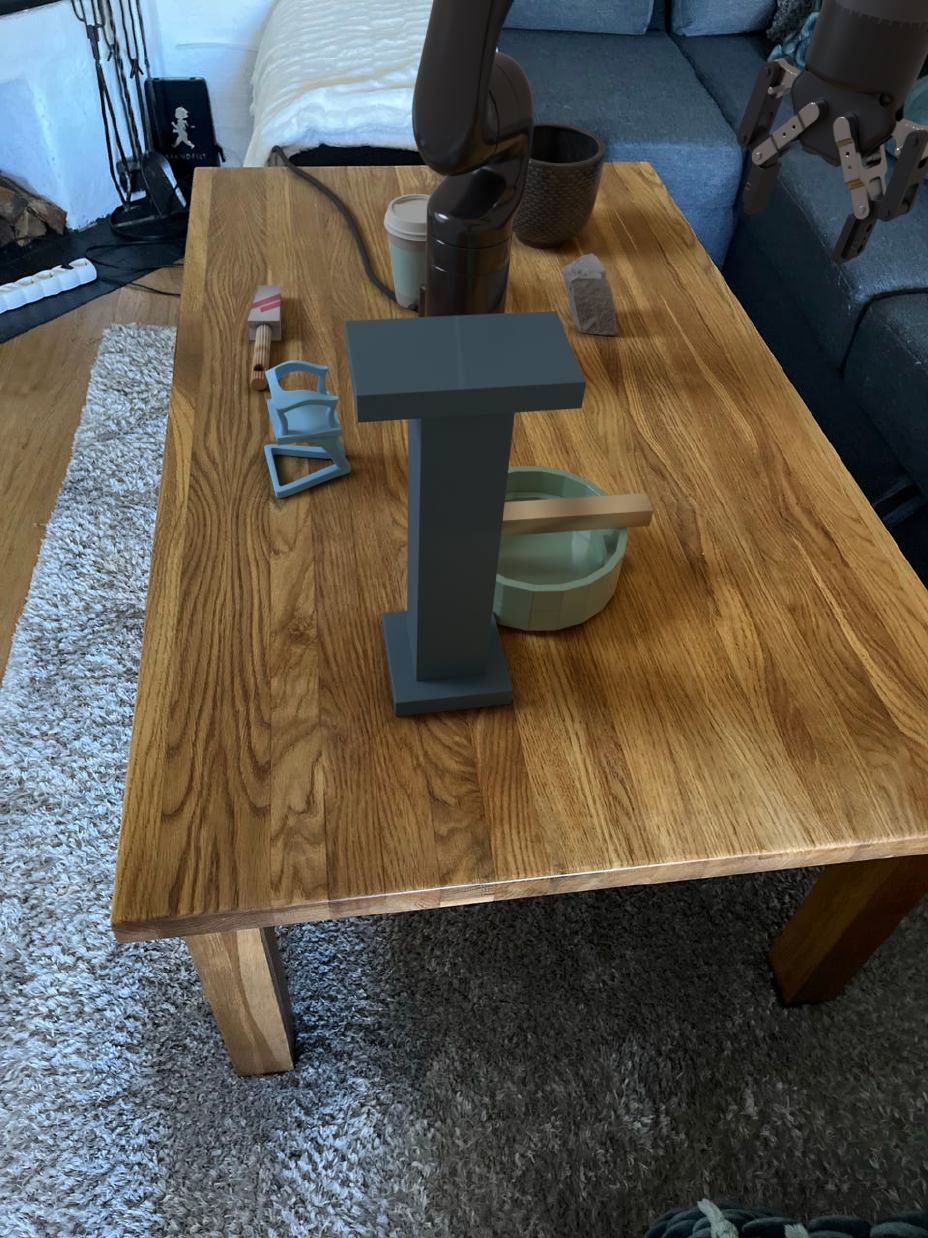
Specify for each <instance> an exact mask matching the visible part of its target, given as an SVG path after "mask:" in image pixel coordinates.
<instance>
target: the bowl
mask: <svg viewBox="0 0 928 1238" xmlns="http://www.w3.org/2000/svg"><path fill="white" fill-rule="evenodd" d="M594 496H610V494H608V493H607V492H605V491H604V490H603V489H602V488H600V487H599V486H598V485H596V484H595V483H594V482H592V481H591V480H589V479H586V478H584V477H582V476H580V475H577V474H575V473H573V472H570V471H568V470H564V469H560V468H559V469H558V468H553V467H549V466H545V465H513V466H509V469H508V478H507V487H506V496H505V502H516V501H532V500H547V499H563V498H579V497H594ZM628 540H629V530H628V528H615V529H600V530H586V531H571V532H557V533H542V534H528V535H513V536H501V541H500V549H499V558H498V567H497V576H496V585H495V594H494V603H493V612H494V616H495V620H496V624H497V625H499V626H505V627H508V628H513V629H518V630H522V631H526V632H527V631H528V632H529V631H530V632H532V631H533V632H537V631H538V632H539V631H541V632H543V631H559V630H562V629H565V628H566V629H567V628H569V627H572V626H577V625H580V624H583V623H585V622H586V621H587V620H589V619H591V618H592V617H594V616H596V615H597V614H598V613H600V612H601V611H603V610H604V608H605V607H606V605H607V604H608V602H609V601H610V600H611V598H612V597H613V596H614V595H615V593H616V589H617V585H618V582H619V577H620V575H621V569H622V566H623V562H624V558H625V554H626V549H627V545H628Z"/></svg>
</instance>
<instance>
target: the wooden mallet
mask: <svg viewBox="0 0 928 1238" xmlns="http://www.w3.org/2000/svg"><path fill="white" fill-rule="evenodd" d="M654 512H655V510H654V507H653V505H652V503H651V500H650V498H649V496H648V493H646V492H644V493H629V494H628V493H627V494H613V495H610V494H609V496H594V497H579V498H563V499H547V500H532V501H516V502H505V505H504V514H503V523H502V532H501V536H513V535H528V534H542V533H557V532H571V531H586V530H600V529H615V528H627V529H628V528H642V527H643V528H644V527H650V526H651V522H652V518H653V515H654Z"/></svg>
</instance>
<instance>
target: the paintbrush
mask: <svg viewBox="0 0 928 1238" xmlns="http://www.w3.org/2000/svg"><path fill="white" fill-rule="evenodd" d="M246 321H247V325H248V332H249V333H248V334H249V337H248V338H249V340H248V341H255V342H254V348H253V349H254V351H253V355H252V356H253V358H252V365H251V374H250V386H251V388H253V389H254V390H256V391H261V390H262V391H263V390H264V389H266V388H267V387H268V380H267V377H266V374H265V372H266V371H268V370H270V369H269V367H270V359H271V356H270V355H271V344H272V341H282V285H278V284H277V285H270V284H269V285H267V284H266V285H265V284H262V285H260V284H259V285H258V286H257V290H256V293H255V295H254V298H253V301H252V305H251V308H250V311H249V314H248V317H247V320H246Z"/></svg>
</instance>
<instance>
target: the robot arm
mask: <svg viewBox="0 0 928 1238" xmlns="http://www.w3.org/2000/svg"><path fill="white" fill-rule="evenodd" d="M515 1H516V0H432V4H431V9H430V15H429V19H428V25H427V27H426V33H425V38H424V42H423V45H422V46H423V47H422V51H421V55H420V60H419V65H418V69H417V74H416V78H415V84H414V89H413V94H412V101H411V102H412V103H411V127H412V135H413V139H414V142H415V145H416V148H417V151H418V153H419V155H420V158H421V159H422V160H423V162H424V163H425V165H426V166H427V167H428V168H429V169H430V170H431V171H432V172H434V173H435V174H437V175H440V176H443V179H442V180H441V182H439V184H438V185H437V187H435V189H434V190H433V191H432V192H431V194H430V195H431V196H430V198H429V200H428V203H427V212H426V268H425V282H423V283H422V284H421V286H420V299H416V300H415V301H414V302H413V304H410V305H409V306H408V308H409V309H408V310H411V311H418V313H417V318H418V317H439V316H460V315H480V314H501V313H506V309H507V298H508V286H509V277H510V267H511V266H510V265H511V254H512V253H511V252H512V242H513V223H514V218H515V216H516V214H517V212H518V210H519V208H520V206H521V203H522V200H523V197H524V192H525V186H526V179H527V172H528V165H529V159H530V152H531V145H532V137H533V127H534V122H535V106H534V105H535V104H534V97H533V96H534V95H533V91H532V88H531V84H530V81H529V78H528V76H527V75H526V73H525V70H524V68H522V66H521V65H520V64H519V63H518V62H517V61H516V60H515V59H514V58H513V57H511V56H510V55H508V54H506V53H503V52H500V51H497V50H498V45H499V42H500V37H501V34H502V31H503V28H504V25H505V23H506V21H507V17H508V15H509V13H510V10H511V9H512V7H513V4H514V3H515ZM927 56H928V0H822V4H821V7H820V10H819V12H818V16H817V19H816V22H815V24H814V28H813V31H812V34H811V37H810V40H809V43H808V46H807V49H806V51H805V55H804V62H805V64H804V66H803V68H802V69H800V68H797V67H795V60H794V59H793V57H791V56H783V57H780V58H776V59H773V60H769V61H765V62H764V63H762V65H761V66H760V68H759V72H758V74H757V77H756V80H755V83H754V85H753V89H752V92H751V94H750V97H749V99H748V103H747V105H746V108H745V111H744V113H743V117H742V119H741V122H740V125H739V128H738V131H737V133H736V139H735V140H736V143H737V144H738V145H739V146H740V147H741V148H742V147H745V148H746V149H747V150H748V151H749V153H750V154H751V160H752V164H751V166H750V171H749V173H748V177H747V179H746V183H745V186H744V189H743V192H742V202H743V203H744V205H743V209H742V210H743V212H744V213H745V214H748V215H750V216H754V215H757V214H759V213H763V211H765V210H766V208H767V207H768V204H769V203H770V199H771V197H772V193H773V190H774V187H775V184H776V181H777V179H778V175H779V173H780V170H781V167H782V162H780V161H779V159H780V158H782V157H783V156H785V155H786V154H787V153H788V152H790V151H791V150H792V149H794V148H795V147H797V146H798V145H801V146H802V147H801V151H802V152H805V153H807V154H809V155H813V156H819V157H820V158H822V160H824V161H825V162H826V163H827V164H829V165H831V166H832V167H834V168H838V167H841V171H842V178H843V182H844V186H846V187H847V188H848V189H849V192H850V199H851V204H852V205H851V206H852V211H853V212H851V213H850V214H848V215H847V218H846V220H845V222H844V224H843V226H842V229H841V231H840V234H839V236H838V238H837V241H836V243H835V246H834V248H833V250H832V253H831V256H830V257H829V258H830V262H832V263H834V264H835V265H838V266H841V265H843V264H845V263H847V262H850V261H851V260H853V259H855V258H857V257H859V256H860V255H862V253H863V252H864V250H865V249H866V246H867V244H868V242H869V239H870V237H871V235H872V233H873V230H874V229H875V226H876V225H877V224H876V223H877V222H878V220H880V221H881V222H883V223H888V222H891V221H892V220H894V219H896V218H898V217H901V216H904V215H907V214H908V213H910V212H911V211H912V210H913V208H914V206H915V203H916V200H917V198H918V195H919V193H920V190H921V188H922V186H923V182H924V181H925V178H926V176H927V173H928V125H923V124H920V123H918V122H914V121H912V120H909V119H906V118H905V108H906V101H907V99H908V97H909V95H910V93H911V91H912V90H913V88H914V86H915V84H916V82H917V80H918V78H919V74H920V72H921V70H922V68H923V65H924V63H925V61H926V58H927ZM789 93H790V97H791V104H792V110H793V115H794V116H792V117H791V118H789V120H787V121H786V122H784V124H782V125H781V126H779V127H778V128H777V129H776V130H774V131H773V132H772V133H771V134H770V132H771V130H772V127H773V125H774V121H775V120H776V116H777V114H778V111H779V109H780V106H781V103H782V102H783V99H784V97H786V96H788V95H789ZM893 138H894V140H895V149H894V151H893V152H894V156H895V157H897V160H896V162H895V165H894V167H893V171H892V173H891V176H890V178H889V181H888V184H886V183H887V182H886V177H885V176H886V174H887V173H888V164H887V157H886V149H885V144H886V143H887V142H888V141H890V140H891V139H893ZM270 152H271V153H273V154H276V153H277V155H278V156H279V157H280V159H281V161H282V162H283V164H284V165H285V166H286V167H287V168H288V169H289V170H290V171H292V172H294V173H295V174H296V175H298V176H300V177H301V178H303V179H305V180H306V181H308V182H309V183H311V184H312V185H314V186H315V187H316V188H317V189H319V190H320V191H321V192H322V193H324V194H325V195H326V197H328V198H330V200H331V201H332V202H333V204H335V206H337V208H338V209H339V210H340V212H341V213H342V215H343V216H344V218H345V220H346V222H347V224H348V226H349V227H350V228H349V229H350V231H352V234H353V237H354V239H355V242H356V245H357V248H358V252H359V254H360V256H361V259H362V263H363V265H364V269H365V272H366V275H367V276H368V278H369V280H370V281H371V283H372V284H373V285H374V286H375V287H376V288H377V289H378V290H379V291H381V292H382V293H383V294H384V295H385V296H387V297H388V298H390V299H391V300H392V301H394V302H396V303H398V302H397V299H396V295H395V292H394V291H392V290H391V289H389V288H388V287H387V286H386V285H385V284H384V283H383V282H382V281H381V280H380V279H379V278H378V277H377V275H376V274H375V272H374V270H373V267H372V265H371V261H370V259H369V255H368V253H367V249H366V247H365V245H364V242H363V239H362V236H361V234H360V233H361V232H360V231H359V228H358V227H357V224H356V223H355V222H356V221H354V218H353V217H352V215H351V213H350V211H349V210H348V209H347V208H346V206H345V204H344V202H342V201H341V200H340V199H339V197H338V196H337V195H336V194H335V193H334V192H333V191H331V190H330V189H329V188H328V187H327V186H325V185H324V184H323V182H321V181H319V180H318V179H317V178H316V177H314V176H312V175H311V174H309V173H307V172H306V171H305V170H303V169H301V168H299V167H298V166H296V165H295V164H293V163H292V162H291V161H290V160H289V158H288V157H287V155H286V154H285V152H284V150H283V149H282V148H281V146H280V145H277V144H274V145H273V146H272V148H271V149H270ZM863 159H865V166H863V162H862V160H863ZM398 304H399V303H398ZM417 309H418V310H417Z"/></svg>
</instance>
